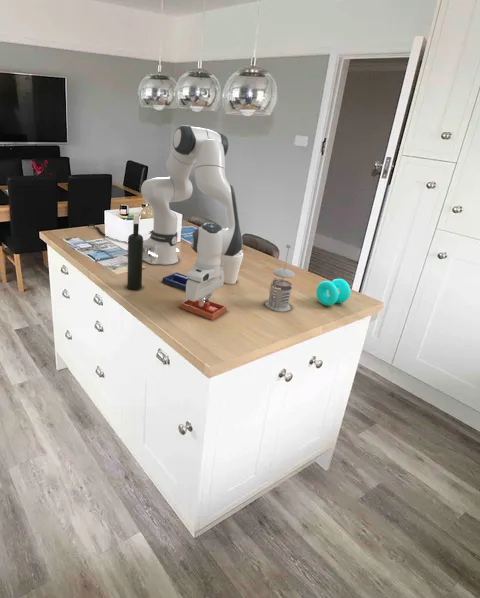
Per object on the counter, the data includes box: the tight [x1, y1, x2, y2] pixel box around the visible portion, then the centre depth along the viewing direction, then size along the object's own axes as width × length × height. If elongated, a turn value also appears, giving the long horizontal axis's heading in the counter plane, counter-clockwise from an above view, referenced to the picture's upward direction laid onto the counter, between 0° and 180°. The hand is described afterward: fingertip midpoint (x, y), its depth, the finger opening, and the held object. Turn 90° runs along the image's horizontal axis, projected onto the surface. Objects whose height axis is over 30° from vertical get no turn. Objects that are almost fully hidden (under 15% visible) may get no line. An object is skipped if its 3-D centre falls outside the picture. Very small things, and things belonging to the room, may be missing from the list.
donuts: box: [315, 278, 351, 307], centre depth 167 cm, size 10×10×10 cm
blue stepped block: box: [173, 274, 189, 285], centre depth 176 cm, size 10×3×3 cm, turn 54°
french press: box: [265, 243, 296, 312], centre depth 157 cm, size 10×12×25 cm
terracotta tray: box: [179, 299, 228, 321], centre depth 155 cm, size 14×10×2 cm
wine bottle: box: [126, 213, 144, 291], centre depth 163 cm, size 6×6×30 cm
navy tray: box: [162, 272, 187, 291], centre depth 176 cm, size 14×10×2 cm
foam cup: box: [220, 251, 244, 285], centre depth 181 cm, size 10×9×13 cm
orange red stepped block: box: [192, 300, 217, 314], centre depth 155 cm, size 10×3×3 cm, turn 53°
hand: (203, 304), depth 154 cm, fingers closed on orange red stepped block, 2 cm apart
